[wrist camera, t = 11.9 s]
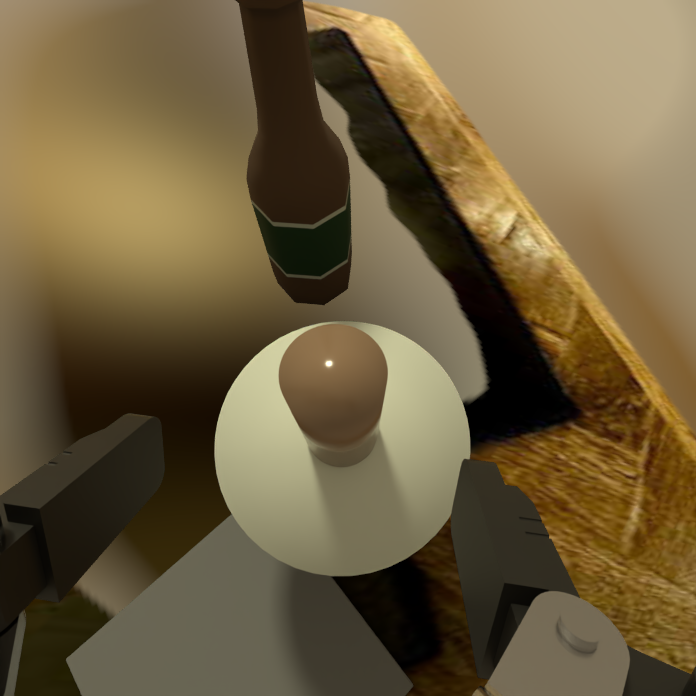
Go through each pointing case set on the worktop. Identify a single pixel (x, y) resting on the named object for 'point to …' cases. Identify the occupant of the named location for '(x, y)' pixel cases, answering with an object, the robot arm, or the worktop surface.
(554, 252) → the worktop surface
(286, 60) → the beer bottle
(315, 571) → the lid
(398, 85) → the worktop surface
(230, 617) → the mat
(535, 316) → the worktop surface
